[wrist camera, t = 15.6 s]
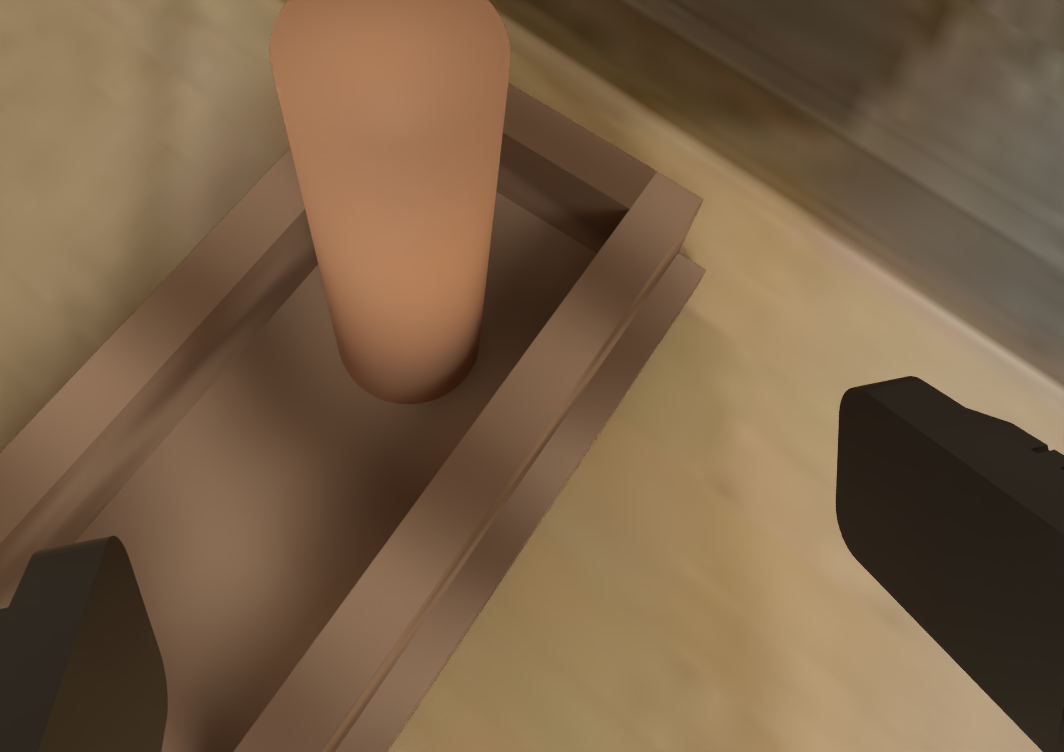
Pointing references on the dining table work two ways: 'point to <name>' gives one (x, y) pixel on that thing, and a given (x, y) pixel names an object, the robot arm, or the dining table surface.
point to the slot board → (346, 446)
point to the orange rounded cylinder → (397, 176)
